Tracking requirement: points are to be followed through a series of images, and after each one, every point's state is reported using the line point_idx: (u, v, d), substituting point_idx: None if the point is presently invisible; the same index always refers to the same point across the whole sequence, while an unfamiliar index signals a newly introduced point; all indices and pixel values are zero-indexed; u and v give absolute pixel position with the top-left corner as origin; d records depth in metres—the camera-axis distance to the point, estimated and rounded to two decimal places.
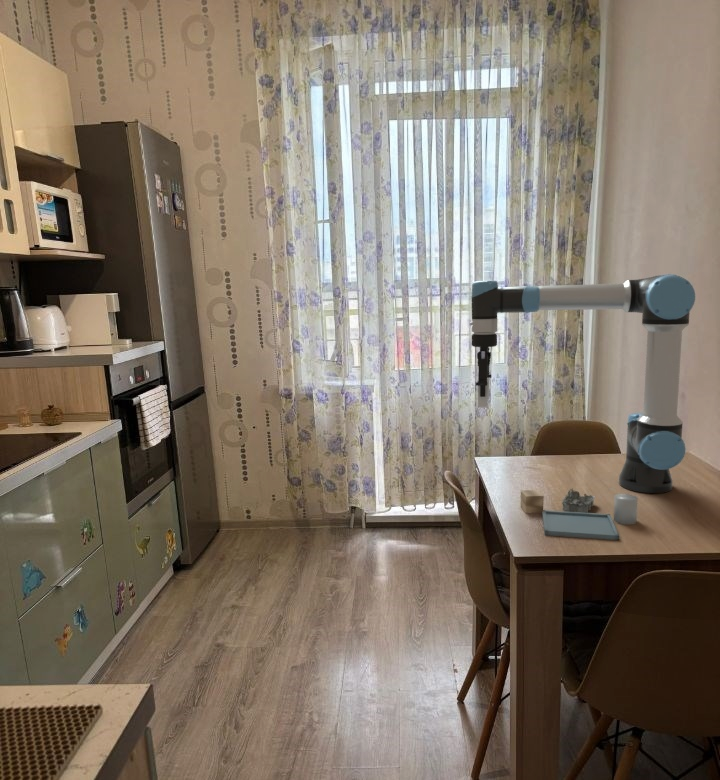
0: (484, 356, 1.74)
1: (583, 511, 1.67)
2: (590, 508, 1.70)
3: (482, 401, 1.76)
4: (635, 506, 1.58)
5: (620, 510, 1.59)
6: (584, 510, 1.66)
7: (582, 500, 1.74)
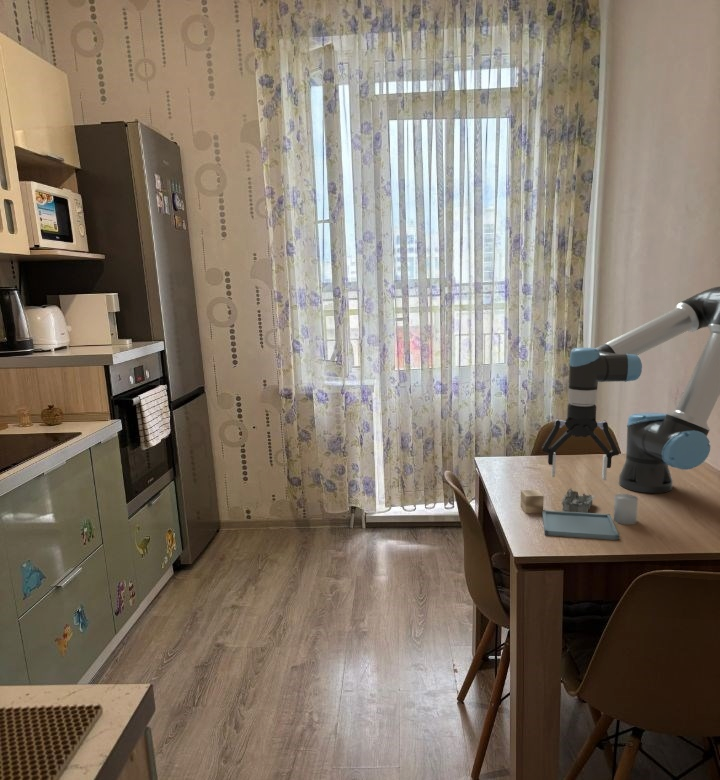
0: (555, 424, 1.69)
1: (583, 511, 1.67)
2: (589, 508, 1.70)
3: None
4: (635, 506, 1.58)
5: (620, 510, 1.59)
6: (584, 510, 1.67)
7: (581, 500, 1.75)
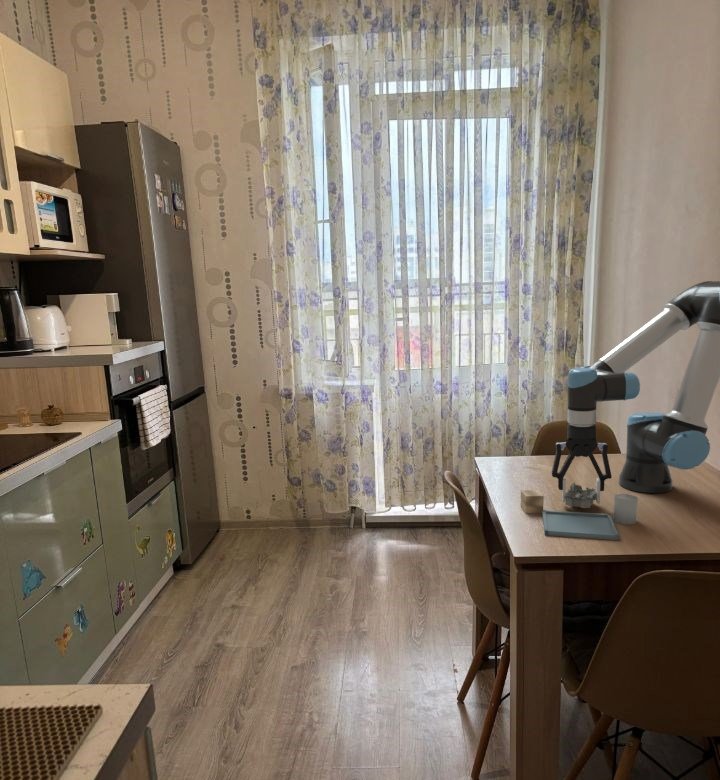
0: (556, 448, 1.70)
1: (586, 505, 1.66)
2: None
3: (562, 494, 1.72)
4: (635, 506, 1.58)
5: (620, 510, 1.59)
6: (587, 504, 1.66)
7: (584, 494, 1.74)
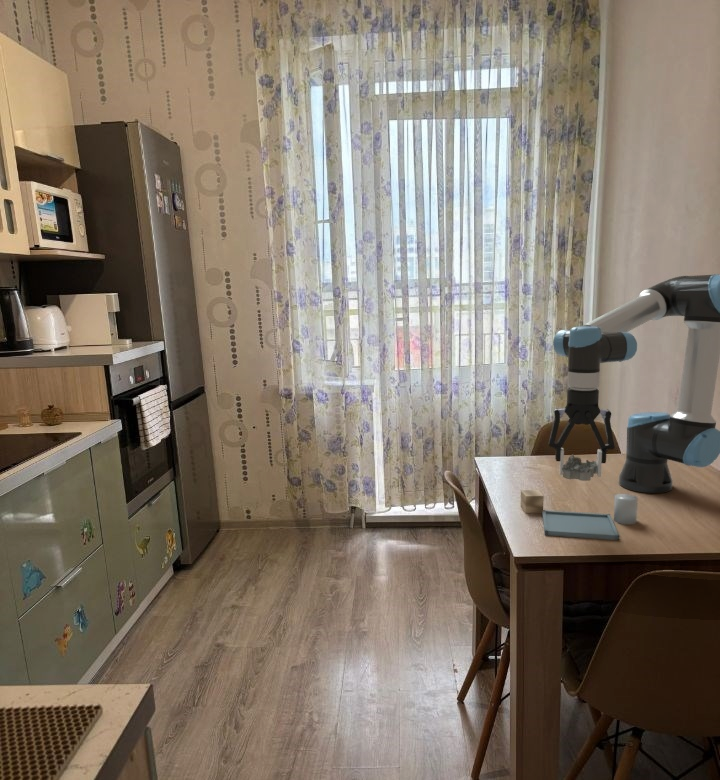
0: (554, 415, 1.54)
1: (585, 477, 1.51)
2: (593, 474, 1.54)
3: None
4: (635, 506, 1.58)
5: (620, 510, 1.59)
6: (587, 476, 1.51)
7: (584, 467, 1.59)
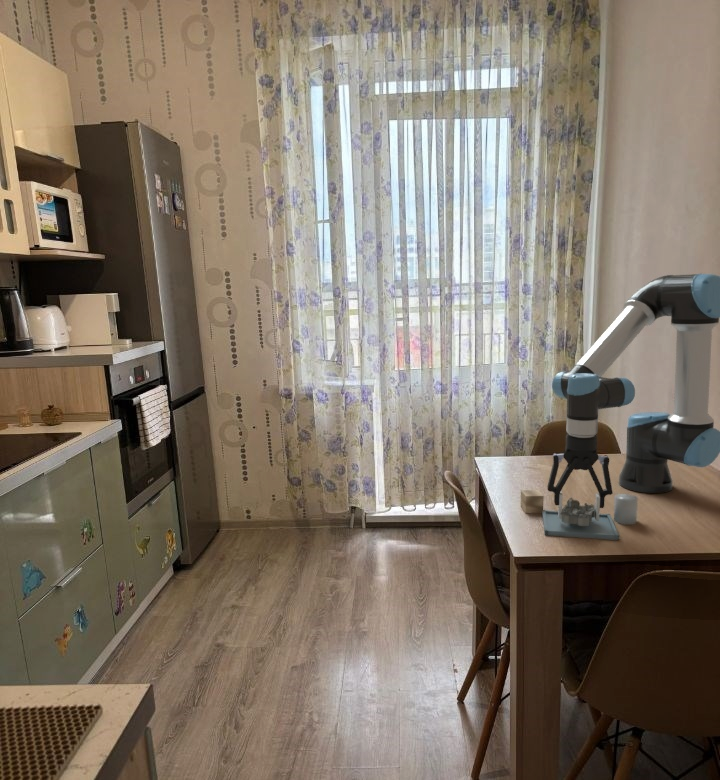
0: (553, 460, 1.56)
1: (584, 522, 1.53)
2: (591, 519, 1.56)
3: (558, 510, 1.58)
4: (635, 506, 1.58)
5: (620, 510, 1.59)
6: (585, 521, 1.53)
7: (582, 510, 1.61)
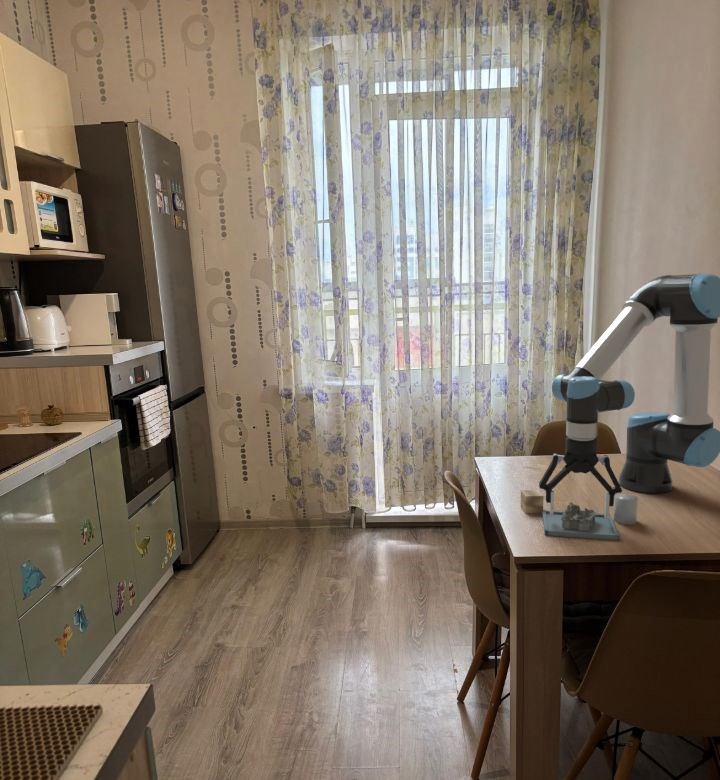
0: (552, 459, 1.56)
1: (584, 527, 1.53)
2: None
3: (550, 507, 1.59)
4: (635, 506, 1.58)
5: (620, 510, 1.59)
6: (585, 526, 1.53)
7: (583, 515, 1.61)
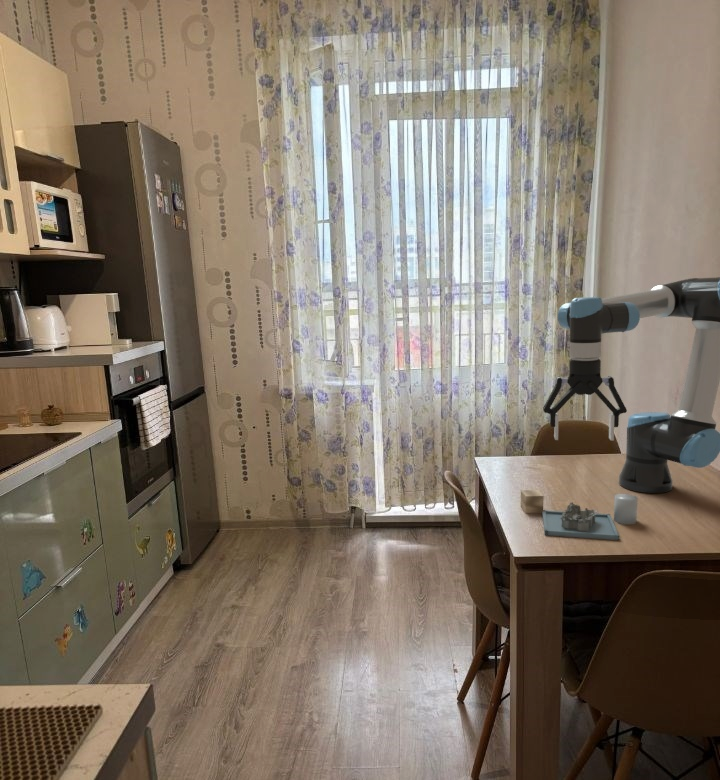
0: (556, 382, 1.55)
1: (583, 527, 1.53)
2: (591, 524, 1.56)
3: (554, 431, 1.58)
4: (635, 506, 1.58)
5: (620, 510, 1.59)
6: (585, 526, 1.53)
7: (583, 515, 1.61)
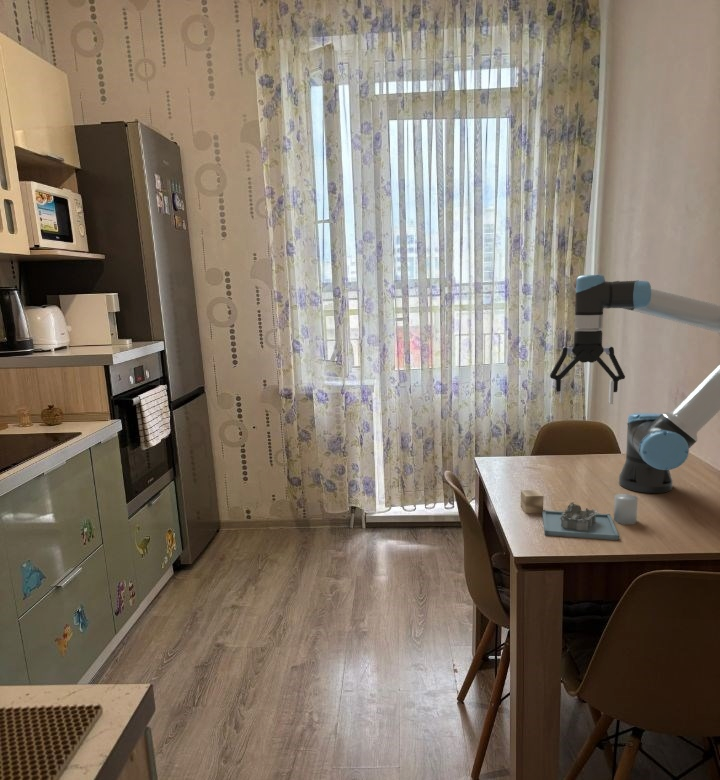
0: (562, 351, 1.74)
1: (582, 527, 1.53)
2: (591, 524, 1.56)
3: None
4: (635, 506, 1.58)
5: (620, 510, 1.59)
6: (584, 526, 1.53)
7: (583, 515, 1.61)
